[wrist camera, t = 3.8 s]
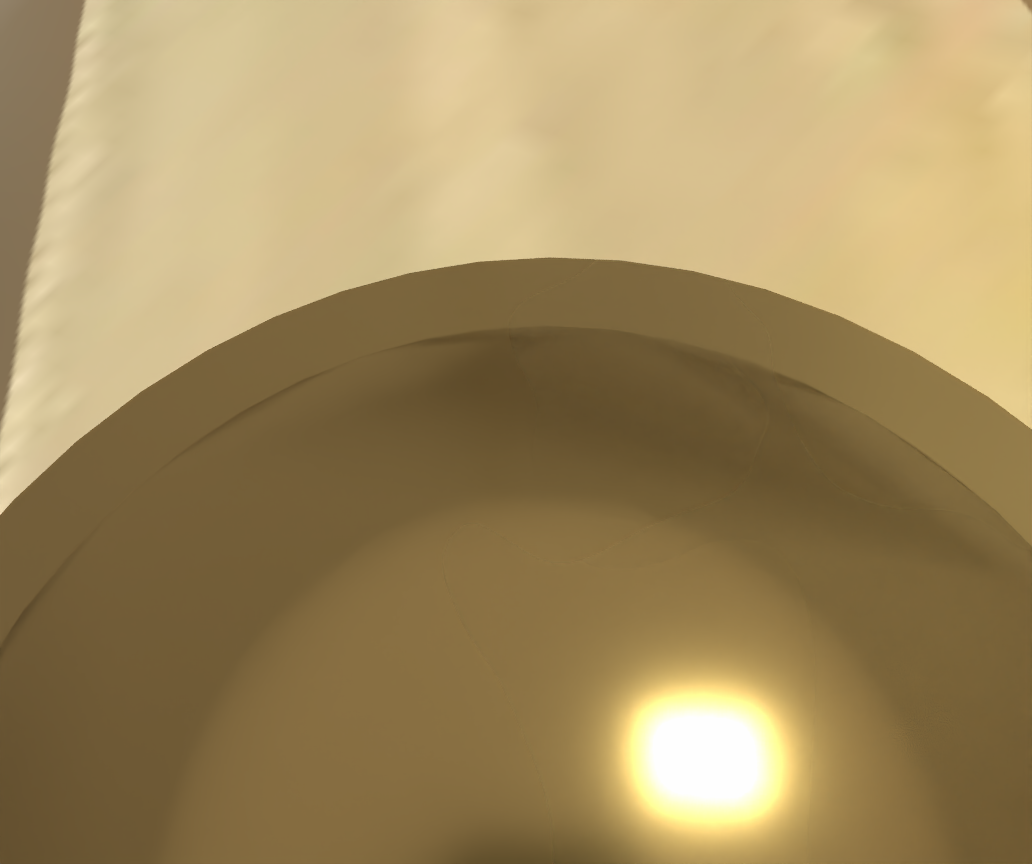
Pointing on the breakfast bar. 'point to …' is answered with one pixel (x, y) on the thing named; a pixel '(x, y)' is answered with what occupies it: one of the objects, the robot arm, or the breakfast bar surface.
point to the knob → (527, 591)
